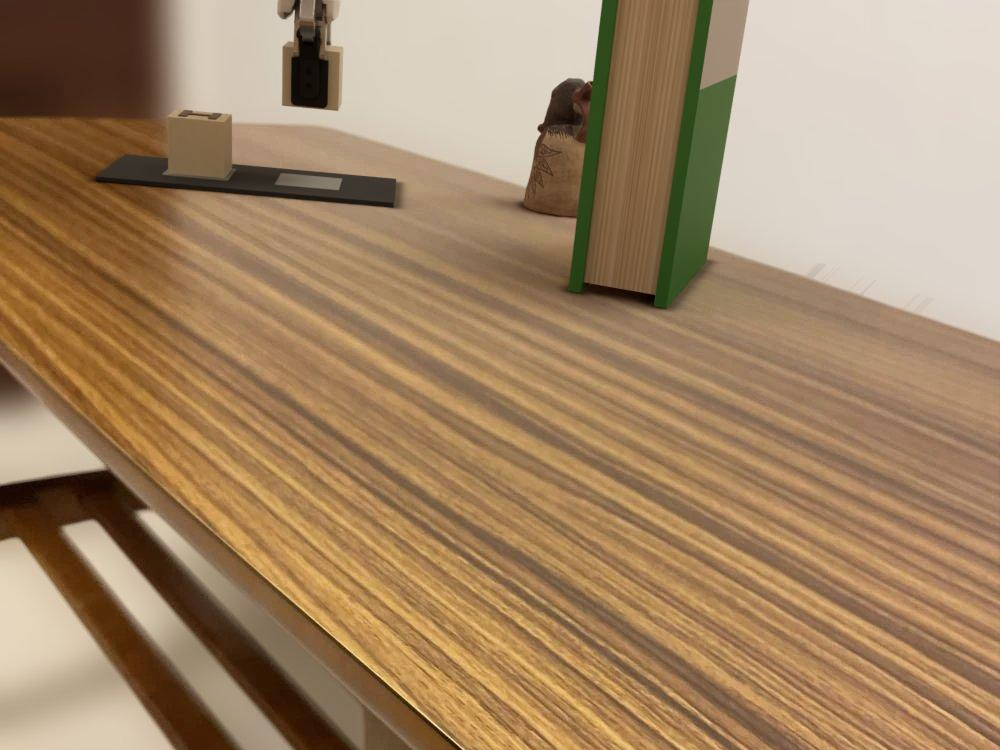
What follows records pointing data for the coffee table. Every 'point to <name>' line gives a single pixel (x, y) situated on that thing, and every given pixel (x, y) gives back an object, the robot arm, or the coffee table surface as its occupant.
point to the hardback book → (655, 142)
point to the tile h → (199, 143)
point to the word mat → (257, 181)
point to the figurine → (560, 151)
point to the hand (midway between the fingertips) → (311, 99)
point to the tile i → (334, 76)
